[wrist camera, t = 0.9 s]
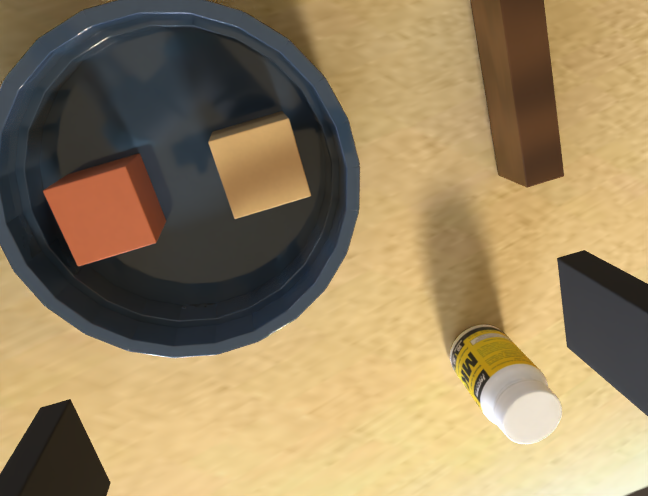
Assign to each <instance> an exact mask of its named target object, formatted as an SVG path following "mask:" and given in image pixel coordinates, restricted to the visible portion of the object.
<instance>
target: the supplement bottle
mask: <svg viewBox="0 0 648 496" xmlns="http://www.w3.org/2000/svg"><path fill="white" fill-rule="evenodd" d="M450 361H451V365H452V367H453V369H454V371H455V372H456V374H457V375H458V377H459V378H460V380H461V381H462V383H463V384H464V385H465V387H466V388H467V390H468V391H469V393H470V394H471V396H472V397H473V398H474V400H475V401H476V403H477V405H478V406H479V407H480V409H481V410H482V412H483V413H484V414H485V416H486V417H487V418H488V419H489V420H490V421H491V422H493V423H494V424H496V425H498V426H499V428H500V429H501V430H502V431H503V432H504V433H505V435H506V436H507V437H508V438H509V439H510V440H512V441H514V442H516V443H520V444H531V443H535V442H538V441H541V440H543V439H544V438H546V437H547V436H549V435H550V434H551V433H552V432H553V431H554V430H555V429H556V427H557V426H558V424H559V422H560V420H561V416H562V406H561V403H560V401H559V399H558V398H557V396H556V395H555V394H554V393H553V392H552V391H551V390H550V388H549V387H548V383H547V380H546V378H545V376H544V374H543V373H542V372H541V371H540V370H539V369H538V368H537V367H536V366H535V365H534V364H533V362H532V361H531V360H530V359H529V358H528V357H527V356H526V355H525V354H524V353H523V352H522V351H521V350H520V349H519V348H518V347H517V346H516V345H515V344H514V343H513V342H512V341H511V340H510V339H509V338H508V336H507V335H506V334H505V333H504V332H503V331H501V330H500V329H499V328H497V327H495V326H492V325H476V326H473V327H471V328H469V329H467V330H465V331H464V332H462V333H461V334H460V335H459V336H458V337H457V338H456V340H455V341H454V343H453V345H452V347H451V351H450Z"/></svg>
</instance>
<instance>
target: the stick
mask: <svg viewBox="0 0 648 496" xmlns="http://www.w3.org/2000/svg"><path fill="white" fill-rule="evenodd" d="M471 5H472V11H473V17H474V24H475V30H476V36H477V42H478V49H479V55H480V61H481V68H482V74H483V80H484V86H485V93H486V99H487V105H488V111H489V118H490V124H491V130H492V136H493V143H494V149H495V155H496V162H497V168H498V174H499V176H502V177H504V178H506V179H509V180H511V181H513V182H515V183H518V184H520V185H522V186H525V187H530V186H534V185H537V184H540V183H543V182H547V181H550V180H553V179H556V178H560V177H563V176H564V171H563V162H562V154H561V145H560V137H559V128H558V119H557V111H556V102H555V94H554V85H553V76H552V68H551V59H550V51H549V42H548V33H547V25H546V16H545V8H544V0H471Z"/></svg>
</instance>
